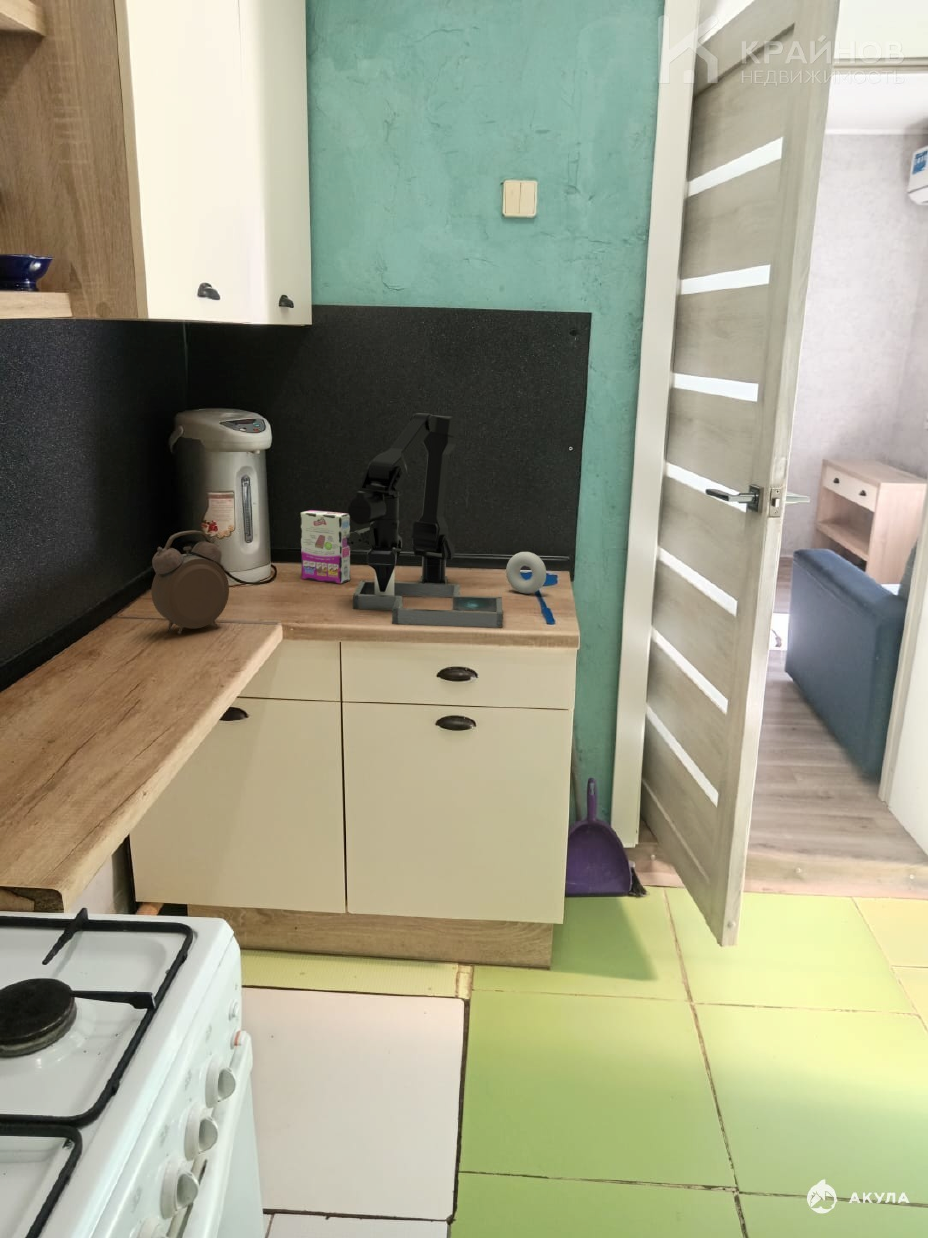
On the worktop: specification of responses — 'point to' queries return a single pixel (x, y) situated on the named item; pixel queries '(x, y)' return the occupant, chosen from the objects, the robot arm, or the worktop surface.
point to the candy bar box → (325, 546)
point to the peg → (389, 588)
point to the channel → (368, 600)
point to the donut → (536, 568)
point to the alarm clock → (189, 583)
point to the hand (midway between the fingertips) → (384, 586)
